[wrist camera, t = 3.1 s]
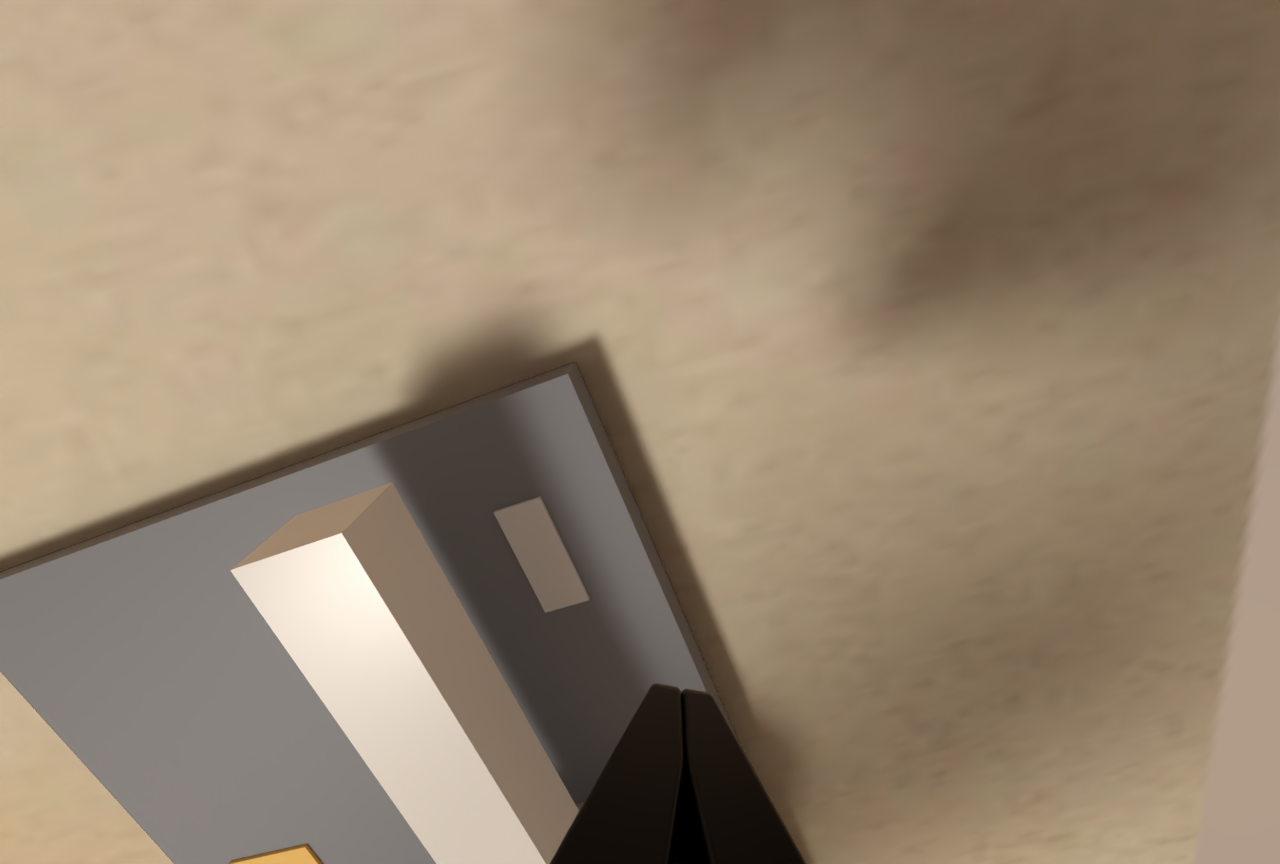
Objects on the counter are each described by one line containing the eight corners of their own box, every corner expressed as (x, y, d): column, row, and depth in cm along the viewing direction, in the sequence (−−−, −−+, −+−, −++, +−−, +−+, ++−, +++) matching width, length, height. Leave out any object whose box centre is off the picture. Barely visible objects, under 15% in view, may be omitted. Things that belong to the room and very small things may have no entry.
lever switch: (758, 981, 18) (766, 1074, 16) (537, 1014, 19) (522, 1103, 17) (492, 447, 12) (457, 494, 10) (207, 546, 14) (131, 603, 12)
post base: (803, 892, 20) (818, 982, 18) (319, 976, 24) (280, 1060, 22) (575, 361, 14) (554, 395, 12) (-24, 580, 18) (-129, 639, 16)
